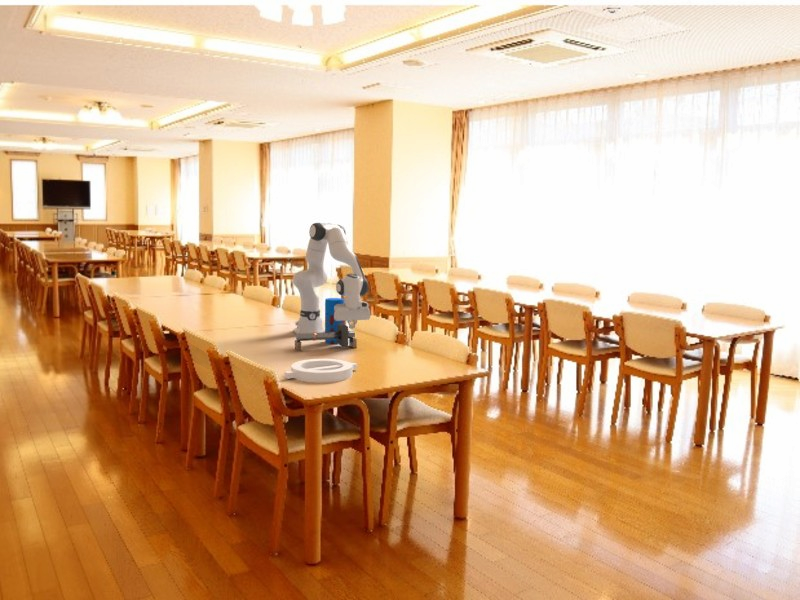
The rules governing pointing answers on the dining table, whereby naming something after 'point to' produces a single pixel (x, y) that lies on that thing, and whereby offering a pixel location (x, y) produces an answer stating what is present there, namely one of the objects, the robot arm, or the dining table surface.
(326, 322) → the thermos
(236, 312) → the dining table surface
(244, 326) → the dining table surface
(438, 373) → the dining table surface
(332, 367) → the ring with crossbar
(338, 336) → the pipe rig
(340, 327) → the collar
